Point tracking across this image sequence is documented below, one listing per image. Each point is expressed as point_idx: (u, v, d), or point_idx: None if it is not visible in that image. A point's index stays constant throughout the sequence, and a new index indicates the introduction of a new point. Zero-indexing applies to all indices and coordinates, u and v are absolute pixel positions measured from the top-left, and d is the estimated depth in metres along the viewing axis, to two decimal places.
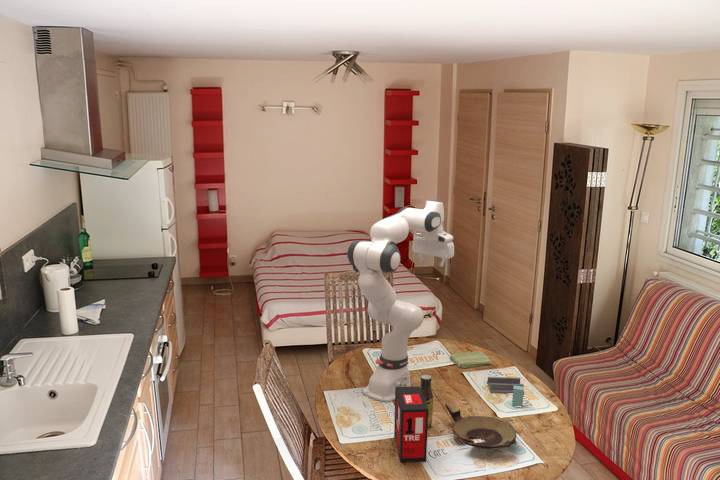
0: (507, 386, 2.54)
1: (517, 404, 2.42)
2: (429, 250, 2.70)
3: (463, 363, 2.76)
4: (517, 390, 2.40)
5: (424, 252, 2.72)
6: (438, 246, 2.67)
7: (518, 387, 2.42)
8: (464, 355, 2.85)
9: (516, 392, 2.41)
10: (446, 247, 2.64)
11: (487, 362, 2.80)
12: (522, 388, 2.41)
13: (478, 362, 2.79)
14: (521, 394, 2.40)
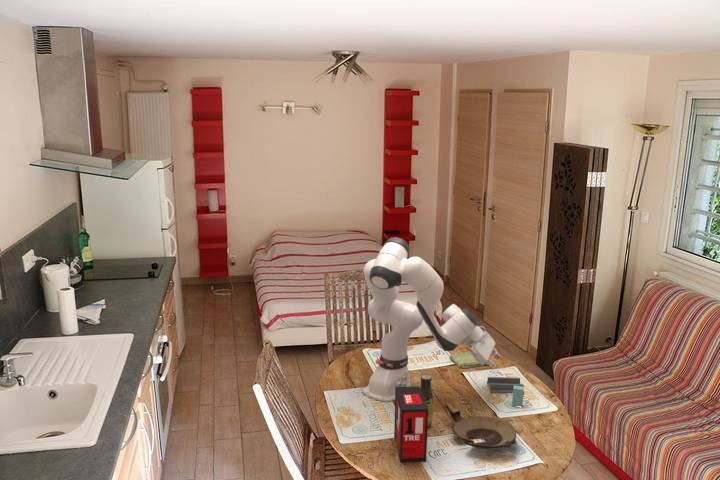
0: (507, 386, 2.54)
1: (517, 404, 2.42)
2: (487, 347, 2.43)
3: (463, 363, 2.76)
4: (517, 390, 2.40)
5: (489, 353, 2.40)
6: (485, 340, 2.47)
7: (518, 387, 2.42)
8: (464, 355, 2.85)
9: (516, 392, 2.41)
10: (487, 335, 2.51)
11: None
12: (522, 388, 2.41)
13: None
14: (521, 394, 2.40)
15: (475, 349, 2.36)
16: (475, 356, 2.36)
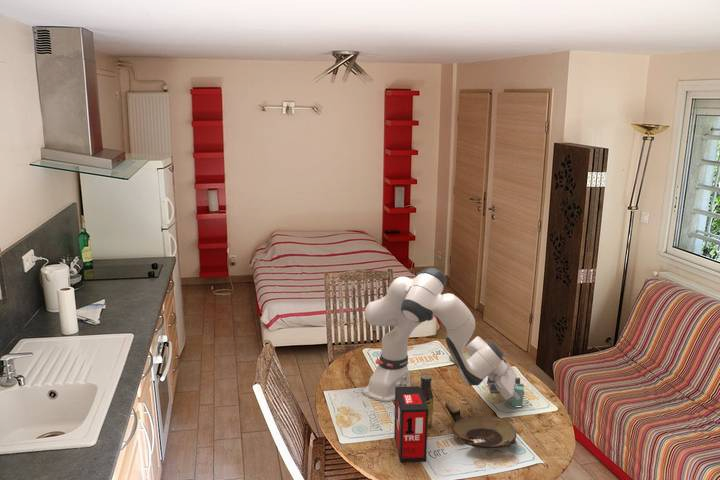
0: None
1: (517, 404, 2.42)
2: (510, 381, 2.41)
3: None
4: (517, 390, 2.40)
5: (513, 386, 2.39)
6: (507, 372, 2.46)
7: (518, 387, 2.42)
8: None
9: (516, 392, 2.41)
10: (509, 366, 2.49)
11: None
12: (522, 388, 2.41)
13: None
14: (521, 394, 2.40)
15: (500, 383, 2.34)
16: (500, 390, 2.34)
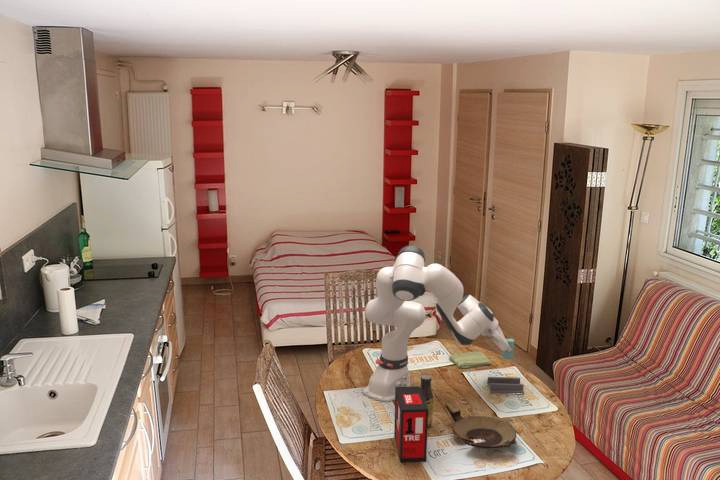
0: (507, 386, 2.54)
1: (508, 356, 2.52)
2: (502, 334, 2.51)
3: (463, 364, 2.76)
4: (508, 342, 2.51)
5: (505, 339, 2.49)
6: None
7: (508, 339, 2.52)
8: (463, 355, 2.84)
9: None
10: None
11: (487, 362, 2.79)
12: (512, 340, 2.52)
13: (478, 362, 2.78)
14: (512, 346, 2.51)
15: (498, 336, 2.42)
16: (498, 343, 2.42)
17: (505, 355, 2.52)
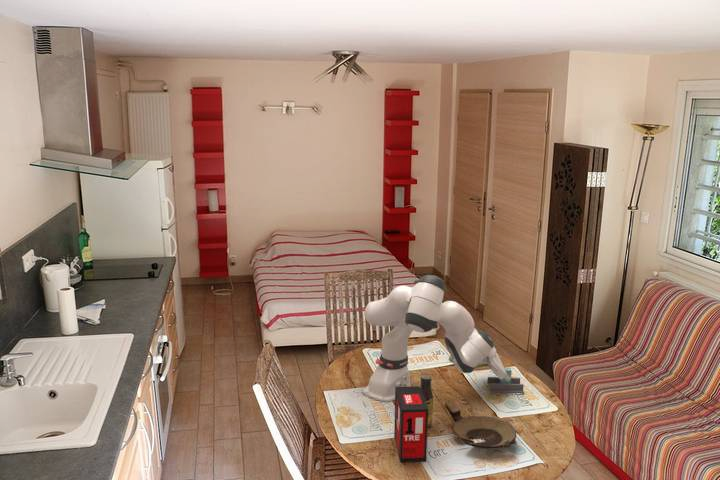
0: (507, 386, 2.54)
1: None
2: (499, 361, 2.54)
3: None
4: (506, 371, 2.54)
5: (503, 366, 2.52)
6: None
7: (506, 369, 2.56)
8: None
9: None
10: None
11: None
12: (510, 369, 2.55)
13: None
14: (509, 375, 2.55)
15: (495, 365, 2.46)
16: (495, 372, 2.46)
17: None
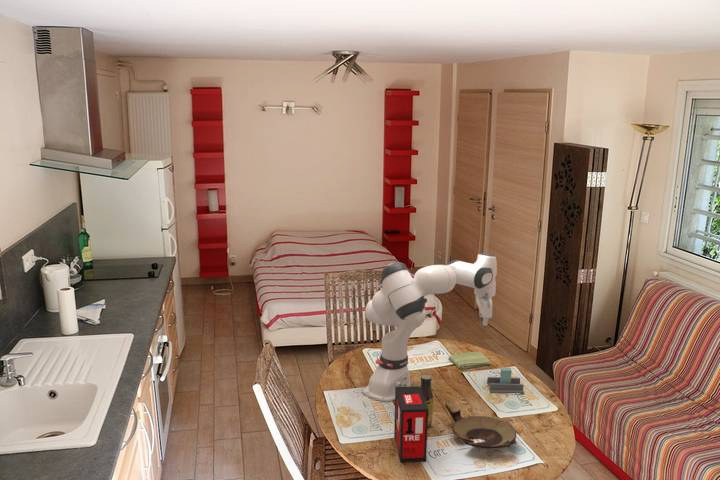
0: (507, 386, 2.54)
1: None
2: None
3: (463, 364, 2.75)
4: (506, 371, 2.54)
5: None
6: None
7: (506, 369, 2.56)
8: (463, 356, 2.84)
9: (505, 374, 2.55)
10: None
11: (486, 362, 2.79)
12: (510, 369, 2.55)
13: (478, 363, 2.78)
14: (509, 375, 2.55)
15: (490, 303, 2.44)
16: (486, 308, 2.44)
17: None
